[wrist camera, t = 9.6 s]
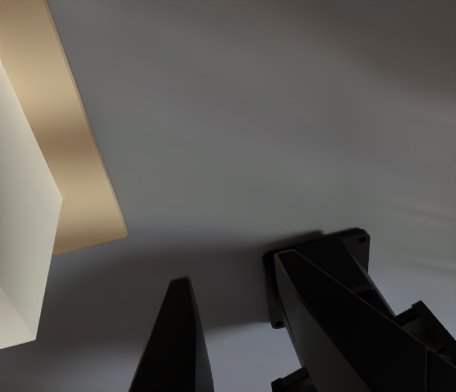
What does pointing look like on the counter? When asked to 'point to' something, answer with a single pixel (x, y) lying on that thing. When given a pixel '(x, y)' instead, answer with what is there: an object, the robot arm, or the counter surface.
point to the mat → (59, 125)
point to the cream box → (23, 221)
